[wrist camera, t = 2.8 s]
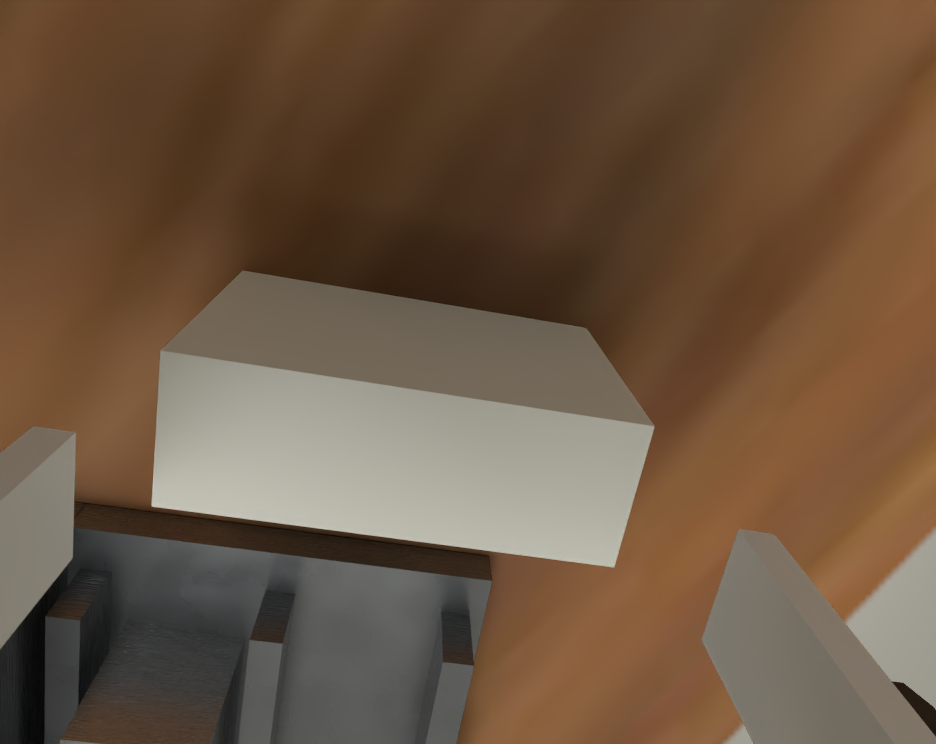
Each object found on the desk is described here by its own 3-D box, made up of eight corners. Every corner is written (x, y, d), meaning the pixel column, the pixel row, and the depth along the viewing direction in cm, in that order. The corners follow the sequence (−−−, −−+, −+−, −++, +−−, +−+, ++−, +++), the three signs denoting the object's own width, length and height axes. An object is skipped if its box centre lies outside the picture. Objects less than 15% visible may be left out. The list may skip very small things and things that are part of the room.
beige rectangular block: (232, 383, 25) (151, 506, 18) (243, 269, 24) (160, 350, 16) (560, 432, 26) (614, 567, 19) (585, 327, 25) (654, 426, 18)
